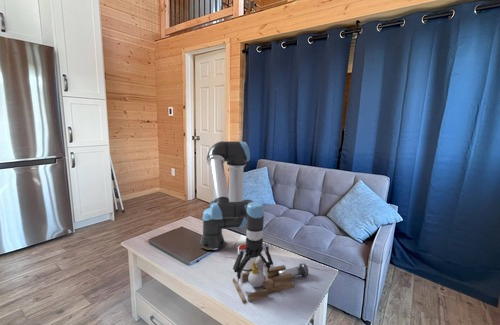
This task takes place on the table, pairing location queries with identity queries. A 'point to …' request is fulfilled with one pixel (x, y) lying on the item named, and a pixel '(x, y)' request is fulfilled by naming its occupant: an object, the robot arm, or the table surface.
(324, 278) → the table surface
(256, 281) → the perfume bottle
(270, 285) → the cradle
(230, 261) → the table surface
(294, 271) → the shaft
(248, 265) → the cup
